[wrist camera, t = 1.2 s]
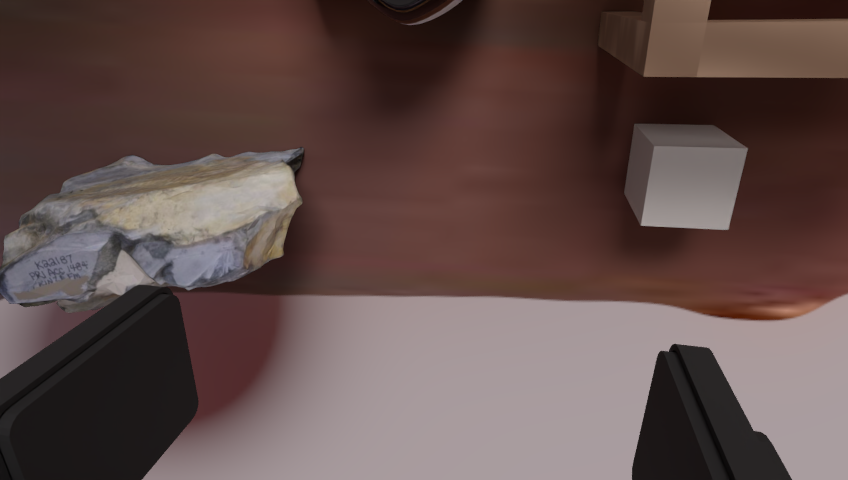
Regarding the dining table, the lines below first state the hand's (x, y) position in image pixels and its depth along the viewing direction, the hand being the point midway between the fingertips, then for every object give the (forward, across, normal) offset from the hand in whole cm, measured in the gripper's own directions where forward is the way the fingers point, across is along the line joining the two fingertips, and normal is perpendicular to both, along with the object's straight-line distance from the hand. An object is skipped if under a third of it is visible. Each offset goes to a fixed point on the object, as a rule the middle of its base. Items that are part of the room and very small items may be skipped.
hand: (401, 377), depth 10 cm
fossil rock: (+30, +22, +8) cm, 38 cm away
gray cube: (+30, -12, +3) cm, 33 cm away
